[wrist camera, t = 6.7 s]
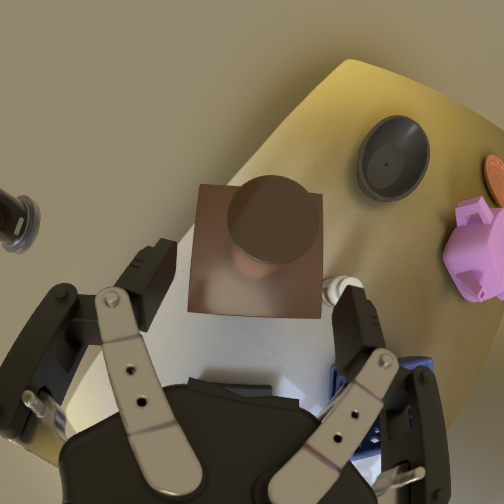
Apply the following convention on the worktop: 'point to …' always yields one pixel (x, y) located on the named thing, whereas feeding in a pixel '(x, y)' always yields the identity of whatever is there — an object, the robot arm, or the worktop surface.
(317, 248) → the stand
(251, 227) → the spice jar
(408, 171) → the bowl
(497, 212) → the teapot
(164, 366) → the worktop surface
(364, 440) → the flower pot
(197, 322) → the worktop surface
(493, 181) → the saucer
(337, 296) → the pill bottle
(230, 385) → the pad
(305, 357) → the worktop surface
